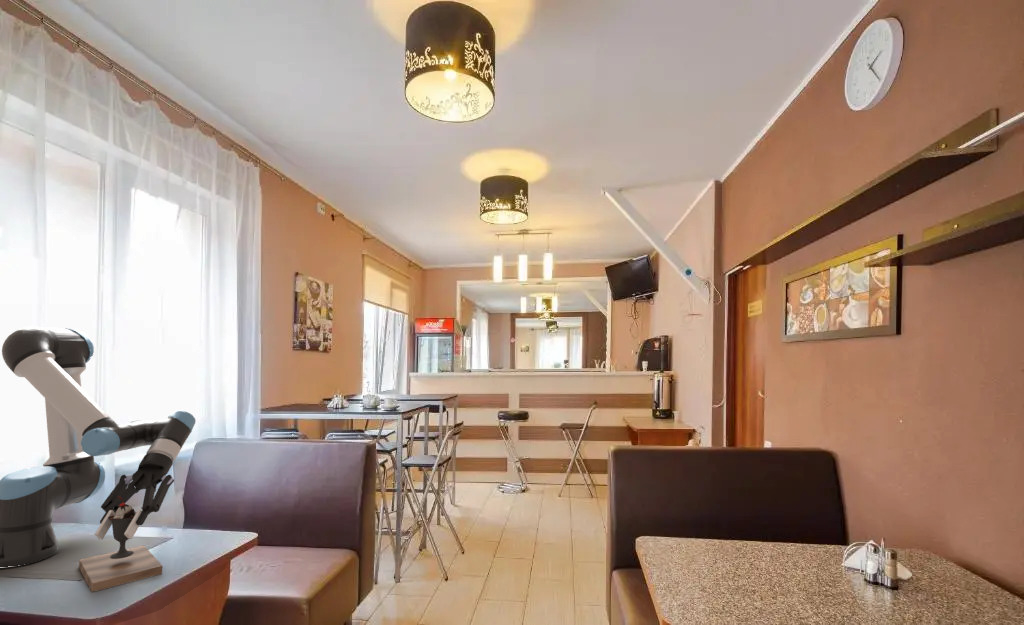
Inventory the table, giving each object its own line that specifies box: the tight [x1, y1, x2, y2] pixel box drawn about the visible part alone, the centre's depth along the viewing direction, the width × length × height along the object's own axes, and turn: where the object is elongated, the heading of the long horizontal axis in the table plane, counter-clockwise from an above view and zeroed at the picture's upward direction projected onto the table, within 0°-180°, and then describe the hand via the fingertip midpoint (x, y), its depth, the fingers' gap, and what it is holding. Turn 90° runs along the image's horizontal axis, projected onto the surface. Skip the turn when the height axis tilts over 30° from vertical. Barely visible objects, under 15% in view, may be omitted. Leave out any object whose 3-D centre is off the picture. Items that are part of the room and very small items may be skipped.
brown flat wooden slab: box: [78, 545, 164, 593], centre depth 130 cm, size 20×14×2 cm
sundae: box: [108, 496, 137, 559], centre depth 131 cm, size 7×7×15 cm
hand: (113, 536), depth 127 cm, fingers closed on sundae, 6 cm apart
